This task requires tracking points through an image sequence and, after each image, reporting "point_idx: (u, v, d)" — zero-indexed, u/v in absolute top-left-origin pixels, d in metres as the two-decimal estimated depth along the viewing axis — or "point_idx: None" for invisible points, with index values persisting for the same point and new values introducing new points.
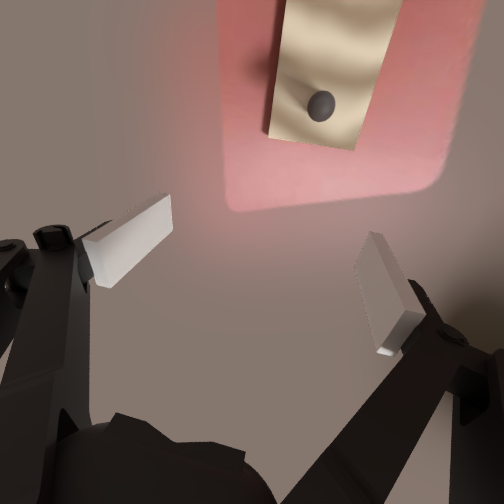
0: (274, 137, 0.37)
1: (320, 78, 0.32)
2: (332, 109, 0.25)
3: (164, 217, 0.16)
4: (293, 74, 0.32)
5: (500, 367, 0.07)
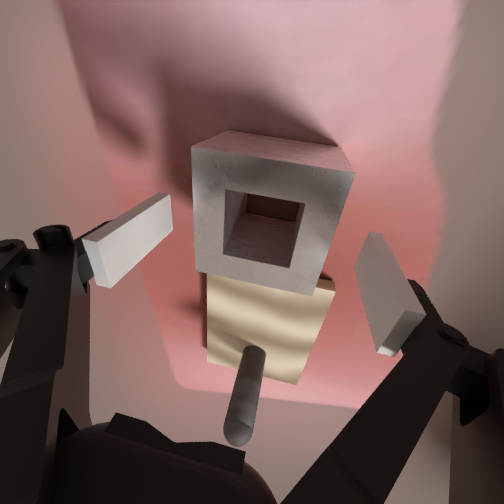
0: (213, 362, 0.34)
1: (253, 337, 0.29)
2: None
3: (164, 217, 0.16)
4: (224, 330, 0.30)
5: (500, 367, 0.07)
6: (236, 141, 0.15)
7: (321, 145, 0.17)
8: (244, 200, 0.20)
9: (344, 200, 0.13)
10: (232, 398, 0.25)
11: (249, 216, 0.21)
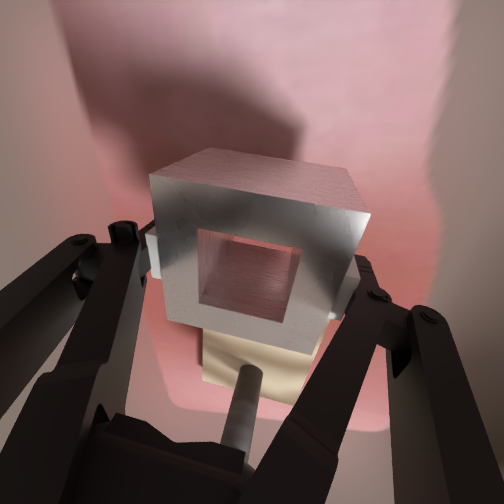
0: (209, 381, 0.33)
1: (249, 356, 0.28)
2: None
3: None
4: (220, 348, 0.29)
5: (416, 322, 0.09)
6: (215, 163, 0.12)
7: (322, 166, 0.14)
8: None
9: (354, 247, 0.09)
10: (227, 421, 0.24)
11: (237, 246, 0.18)
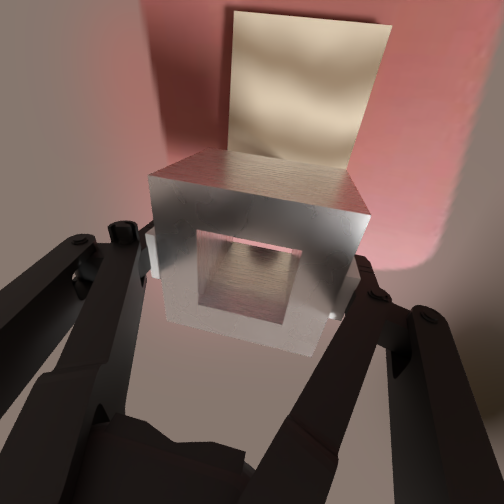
0: None
1: (282, 146, 0.25)
2: None
3: None
4: (248, 140, 0.25)
5: (417, 322, 0.09)
6: (214, 164, 0.12)
7: (322, 167, 0.14)
8: None
9: (355, 249, 0.09)
10: None
11: (237, 246, 0.18)
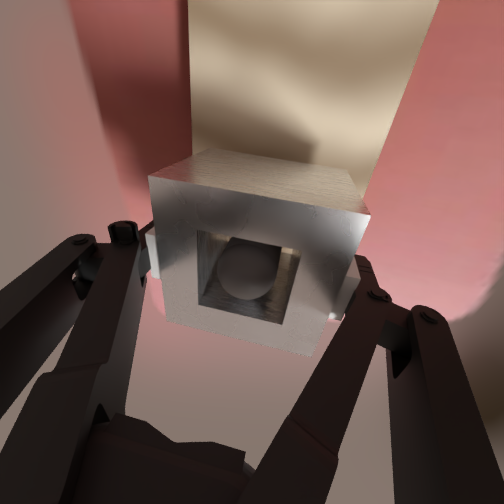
0: None
1: None
2: (267, 287, 0.11)
3: None
4: None
5: (417, 322, 0.09)
6: (214, 164, 0.12)
7: (322, 167, 0.14)
8: None
9: (354, 249, 0.09)
10: None
11: None
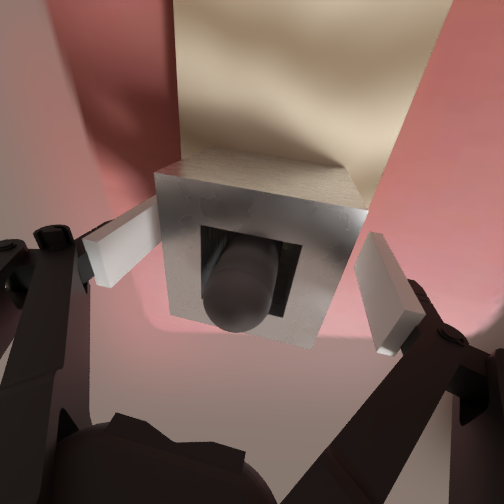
0: None
1: None
2: (260, 319, 0.10)
3: None
4: None
5: (500, 367, 0.07)
6: (217, 162, 0.12)
7: (322, 165, 0.14)
8: None
9: (353, 243, 0.10)
10: (225, 250, 0.12)
11: None
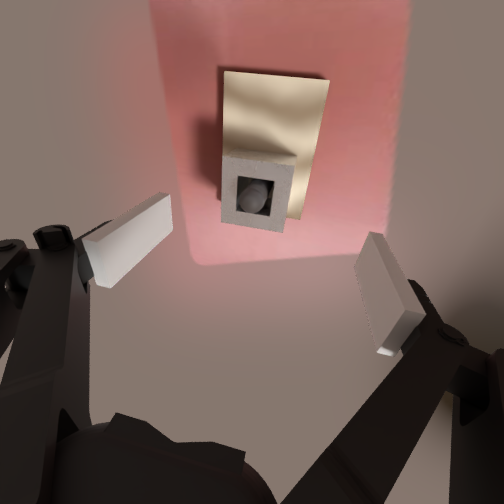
0: None
1: None
2: (260, 205, 0.28)
3: (164, 217, 0.16)
4: None
5: (500, 367, 0.07)
6: (242, 153, 0.31)
7: (286, 154, 0.33)
8: (246, 186, 0.35)
9: (291, 178, 0.28)
10: (246, 187, 0.30)
11: None
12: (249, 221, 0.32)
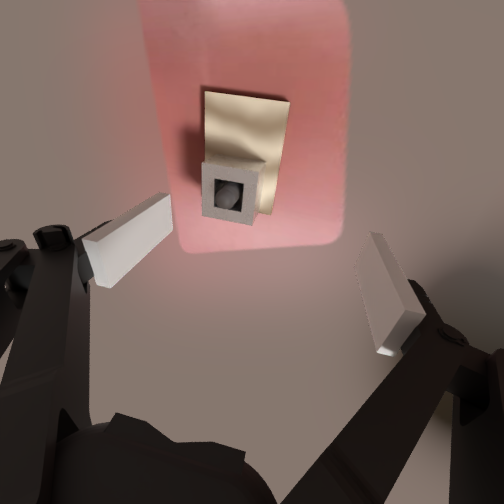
0: None
1: None
2: (231, 203, 0.35)
3: (164, 217, 0.16)
4: None
5: (500, 367, 0.07)
6: (219, 159, 0.37)
7: (257, 161, 0.39)
8: None
9: (257, 182, 0.35)
10: (221, 188, 0.37)
11: None
12: (225, 215, 0.39)
